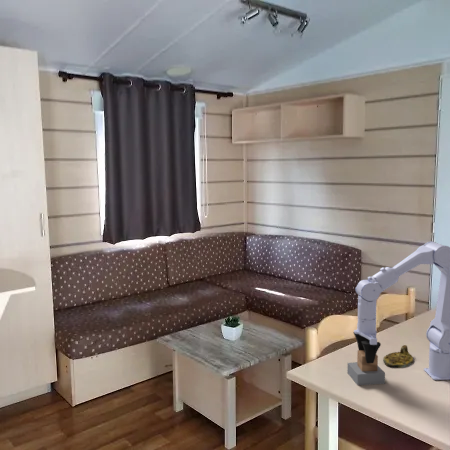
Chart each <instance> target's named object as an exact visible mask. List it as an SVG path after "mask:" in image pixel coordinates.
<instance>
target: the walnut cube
mask: <svg viewBox="0 0 450 450" xmlns="http://www.w3.org/2000/svg"><path fill="white" fill-rule="evenodd" d="M356 359H357V365H358V367H359V368H360V369H361V371H377V369H378V366H379V365H378V364H379V363H378V361H379V356H378V354H376V356H375V360H374V363H367V362H366V358H365V351H364V350H359V349H358V350H357V357H356Z"/></svg>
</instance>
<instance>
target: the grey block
mask: <svg viewBox="0 0 450 450" xmlns="http://www.w3.org/2000/svg"><path fill="white" fill-rule="evenodd" d="M346 371H347V372H346V373H347V374H348V375H349V377H350V378H351V379H352V380H353V381H354V383H355V384H356V386H367V385H368V386H369V385H381V384H382V385H384V384H386V382H385V381H386V377H385V376H386V372H385V371H384V370H383V369H382V368H381V367H380V366H379V365H378V369H377V371H361V369H360V368H359V367H358V365H357V362H355V361H354V362H353V361H352V362H347V370H346Z"/></svg>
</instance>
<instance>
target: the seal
mask: <svg viewBox="0 0 450 450" xmlns="http://www.w3.org/2000/svg"><path fill="white" fill-rule="evenodd" d="M382 359H383V364H385V366H386V367H389V368H398V369H399V368H407V367H409V366H411V365H412V364H413V363H414V357H413V355H412V354H410V352H409V349H408V345H406V344H405V345H404V344H403V345H401V346H400V351H397V352H396V351H394V352H390V353H388V354H386V355H385V356H384V357H383V358H382Z"/></svg>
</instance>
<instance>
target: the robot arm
mask: <svg viewBox="0 0 450 450" xmlns="http://www.w3.org/2000/svg"><path fill="white" fill-rule="evenodd" d="M420 265H433V266H435V267H436V268H437V269H438V270H439V271H440V278H439V285H438V291H437V292H438V293H437V301H436V306H435V307H436V309H435V316H434V318H433V319H432V320H431V321H430V324H429V327H428V328H427V330H426V332H425V333H426V335H425V336H426V339H427V340H428V341H429V348H428V349H429V352H428V353H429V355H428V356H429V357H428V367H424V368H423V371H424V372H425V373H426V374H428V375H429V377H431V379H432V380H433V381H440V380H441V381H445V380H447V381H449V380H450V246H449V245H443V244H442V243H439V242H438V243H437V242H436V241H433V240H431V241H427V242H425V243H424V244H423V245H420V246H418V247H417V249H416V250H414V251H413V252H412V253H411V254H409V255H408V256H407V257H404V259H403V260H401V261H400V262H397V264H395V265H393V267H389V266H385V267H381V268H379V271H378V272H376V273H375V274H373V275H372V276H367V279H362V280H359V282H357V285H356V287H355V289H354V290H355V293H356V294H357V295H358V296H357V324H356V329H354V330H353V331H352V332H353V335H354V337H355V340H356V342H357V348H358V350H364V351H365V358H366V362H367V363H374V360H375V356H376V355H377V352H378V351H379V349H380V347H382V346H381V345H382V344H381V342H380V341H378V338H377V333H378V332H377V300H378V299H379V297H380V295H381V294H382V293H383V292H384V291H386V290H387V289H388V288H391V287H392V286H394V285H395V284H396V283H398V281H399V279H400V277H401V276H402V275H404V274H405V273H408V272H409V271H411V270H413V269H415V268H417V267H418V266H420Z"/></svg>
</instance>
